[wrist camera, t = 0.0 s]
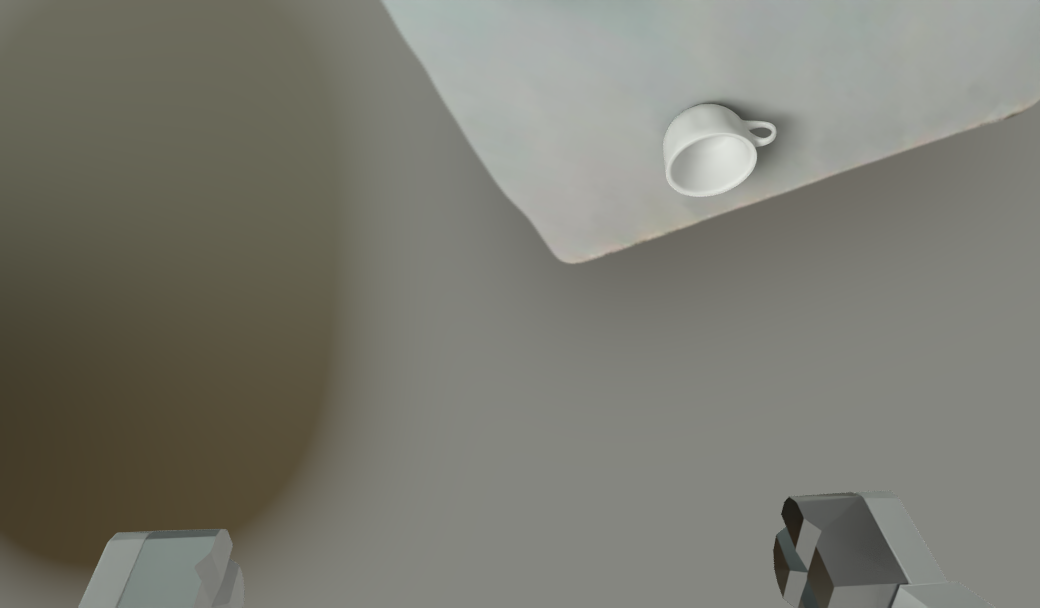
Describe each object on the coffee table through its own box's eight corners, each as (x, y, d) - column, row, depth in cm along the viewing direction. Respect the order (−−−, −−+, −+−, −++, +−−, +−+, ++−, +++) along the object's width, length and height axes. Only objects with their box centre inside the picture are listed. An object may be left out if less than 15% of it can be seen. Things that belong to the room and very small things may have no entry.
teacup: (665, 165, 78) (675, 206, 75) (648, 106, 72) (658, 148, 69) (771, 135, 76) (786, 176, 73) (762, 71, 70) (778, 113, 67)
